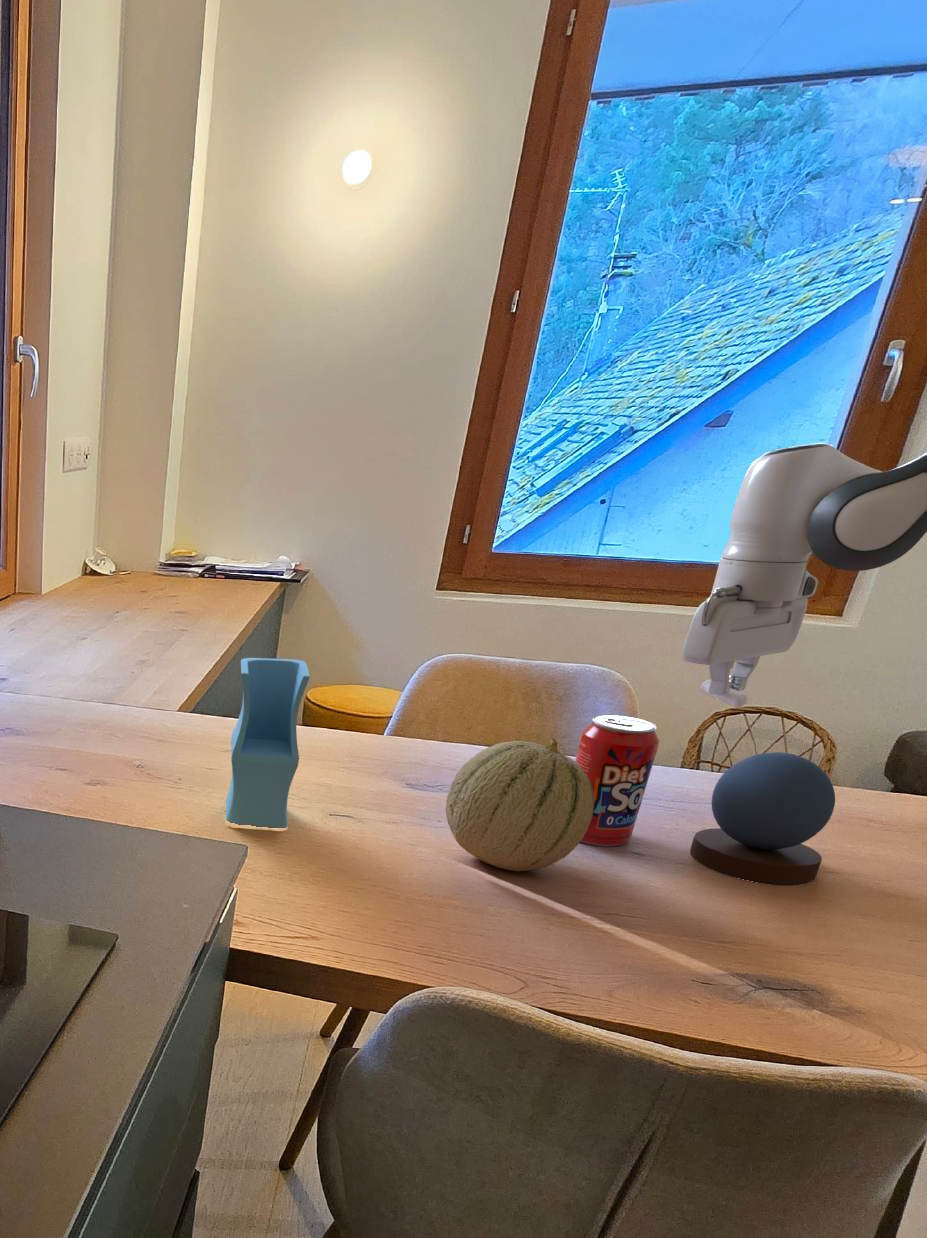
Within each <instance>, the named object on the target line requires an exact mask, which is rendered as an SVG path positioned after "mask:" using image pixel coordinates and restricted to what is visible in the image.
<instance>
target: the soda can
mask: <svg viewBox="0 0 927 1238" xmlns="http://www.w3.org/2000/svg"><path fill="white" fill-rule="evenodd" d="M656 730H657V725H656V724H655V723H653V722H651V721H649V720H647V719H644V718H639V717H636V716H630V715H621V714H600V715H596V716H594V717H592V722H591V723H590V724H589V725H587V726H586V727H585V728H584V729H583V731H582V733H581V737H580V740H579V744H578V748H577V751H576V755H575V759H574V761H575V762H576V763H577V764H578V765H579V766H580V767H581V768H582V769H583V771H584V772H585V773H586V775H587V777H588V779H589V781H590V783H591V786H592V790H593V795H594V809H593V816H592V819H591V822H590V824H589V826H588V830H587V831H586V833H585V834H584V836H583V839H582V840H581V841H580V842H579V843H582V844H586V845H591V846H597V847H617V846H621V845H624V844H626V843H628V842H629V841H630V840H631V837H632V834H633V831H634V828H635V826H636V822H637V819H638V815H639V812H640V808H641V806H642V802H643V798H644V795H645V791H646V789H647V786H648V781H649V778H650V776H651V772H652V768H653V765H654V761H655V759H656V755H657V751H658V748H659V745H660V740H659V737H658V734H657V732H656Z"/></svg>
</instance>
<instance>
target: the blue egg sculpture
mask: <svg viewBox="0 0 927 1238" xmlns="http://www.w3.org/2000/svg"><path fill="white" fill-rule="evenodd" d="M835 792H836V791H835V789H834V785H833V783H832V781H831V778H830V776H829V775H828V774H827V773H826V771H824V769H823V768H822V767H820V766H819V765H817V764H816V763H815V762H813V761H811V760H810V759H807V758H806V757H803V756H801V755H797V754H794V753H789V752H777V751H775V752H773V751H772V752H764V753H758V754H755V755H751V756H748V757H746V758H744V759H741V760H740V761H737V762H736V763H734V764H733V765H732V766H730V767H729V768H728V769H727V770H726V771H725V772H723V774H722V775H721V776H720V778H719V779H718V781H717V782H716V784H715V786H714V788H713V791H712V795H711V811H712V815H713V817H714V820H715V822H716V823H717V825H718V827H719V828H718V827H717V828H708V829H707V828H706V829H701V830H699V831H697V832H696V833H695V834H694V836H693V838H692V843H691V845H690V849H689V854H690V856H691V857H692V858H693V860H695V861H696V862H697V863H698V864H700V865H702V866H704V867H705V868H707V869H709V870H711V871H714V872H717V873H719V874H722V875H724V876H728V877H730V878H734V877H735V878H734V879H737V878H740V879H739V880H741V879H744V880H743V881H745V880H749V881H748V882H750V881H753V882H752V883H755V882H758V883H757V884H761V883H763V884H762V885H768V884H770V885H771V886H782V887H783V886H785V887H791V886H792V887H794V885H795V886H802V885H801V884H803V885H807V884H809V883H808V882H810V883H812V882H813V881H814V880H815V879H816V877H817V874H818V872H819V869H820V866H821V863H822V860H823V858H822V855H821V854H820V853H819V852H818V851H816V850H815V849H813V848H812V847H810V846H807V845H805V844H803V843H805V842H807V841H809V840H810V839H812V838H813V837H815V836H816V835H817V834H818V833H820V832H821V831H822V830H823V829H824V828H825V827H826V825H827V824H828V822H829V820H830V819H831V817H832V815H833V813H834V809H835V805H836V793H835ZM812 880H813V881H812ZM811 881H812V882H811ZM806 883H807V884H806ZM770 885H769V886H770Z"/></svg>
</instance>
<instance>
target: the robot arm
mask: <svg viewBox="0 0 927 1238" xmlns="http://www.w3.org/2000/svg"><path fill="white" fill-rule="evenodd" d="M729 523H730V535H729V539H728V542H727V544H726V546H725V548H724V549H723V550H722V552H721V555H720V559H719V562H718V566H717V570H716V574H715V578H714V582H713V584H712V585H713V586H712V589H711V593H710V596H709V597H708V598H706V599H705V601H703V602H702V603H700V605H699V606H698V607H697V609H696V611H695V613H694V615H693V616H692V620H691V622H690V625H689V629H688V631H687V634H686V637H685V641H684V643H683V646H682V652H681V653H682V659H683V661H684V662H686V663H691V664H695V665H704V666H709V667H708V669H709V675H710V680H711V683H710V687H709V692H710V693H711V694H716V695H722V694H727V693H728V692H729V691H730V688H732V689H734V690H737V691H739V692H742V691H744V690H746V687H747V683H748V680H749V678H750V676H751V675H752V673H753V672H754V670H755V669H756V667H757V666H758V664H759V661H760V657H763V656H769V655H775V654H780V653H786V652H788V651H789V650H790V649H791V647H792V646H793V645H794V644H795V642H796V639H797V637H798V635H799V632H800V630H801V627H802V623H803V621H804V618H805V615H806V612H807V610H808V608H807V607H808V605H809V604H808V603H809V600H808V598H809V597H812V596H814V595H815V594H816V591H817V588H818V585H819V579H818V578H817V577H816V576H814V575H812V574H811V573H810V572H809V571H808V570H807V565H808V562H809V558H810V556H811V555H812V554H814V556H815V557H816V558H817V559H819V561H821V562H822V563H823V564H825V565H827V566H828V567H831V568H834V569H838V570H841V571H846V572H847V571H848V572H863V571H870V570H874V569H878V568H881V567H884V566H887V565H889V564H891V563H894V562H895V561H897V560H898V559H900V558H902V557H903V556H905V555H906V554H907V553H908V552H910V550H911V549H913V548H914V547H915V546H916V545H917V543H919V542H920V540H921V539H922V538H923V537H924V536H925V534H926V533H927V452H925V453H923V454H922V455H920V456H918V457H916V458H914V459H913V460H911V461H909V462H907V463H905V464H903V465H900V466H898V467H895V468H892V469H889V470H886V471H882V470H879V469H877V468H874V467H870V466H868V465H866V464H864V463H861V462H859V461H857V460H855V459H853V458H852V457H850V456H847V455H845V454H844V453H843V452H841V451H840V450H838V449H837V448H836V447H835V446H834V445H833V444H831V443H827V442H816V443H815V442H813V443H809V444H802V445H795V446H789V447H788V446H787V447H781V448H779V449H773V450H771V451H768V452H765V453H764V454H762V455H760V456H759V457H758V458H757V459H756V460H754V461H753V462H752V463H751V464H750V466H749V467H748V469H747V471H746V473H745V475H744V478H743V480H742V481H741V486H740V487H739V491H738V493H737V497H736V500H735V503H734V506H733V511H732V513H731V518H730V522H729ZM731 670H732V672H731ZM730 673H731V674H730Z"/></svg>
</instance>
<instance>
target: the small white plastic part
mask: <svg viewBox="0 0 927 1238" xmlns="http://www.w3.org/2000/svg"><path fill="white" fill-rule="evenodd" d="M710 683H711V679H706V680H704V681H702V683H701V685H700V688H699V690H700V691H701V692H702V693H703V694H705V695H707V696H710V697H711V698H712V699H714V700H719V701H721V702H723V703H726V704H727V705H730V706H732V707H734V708H741V707H744V706H745V705H748V703H747V702H748V699H749V698H748V696H747V694H746V693H744V692H742V691H737V690H734V689H732V688H730V691H729V692H728V693H727V694H722V695H716V694H711V693H710V692H709V687H710Z"/></svg>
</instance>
